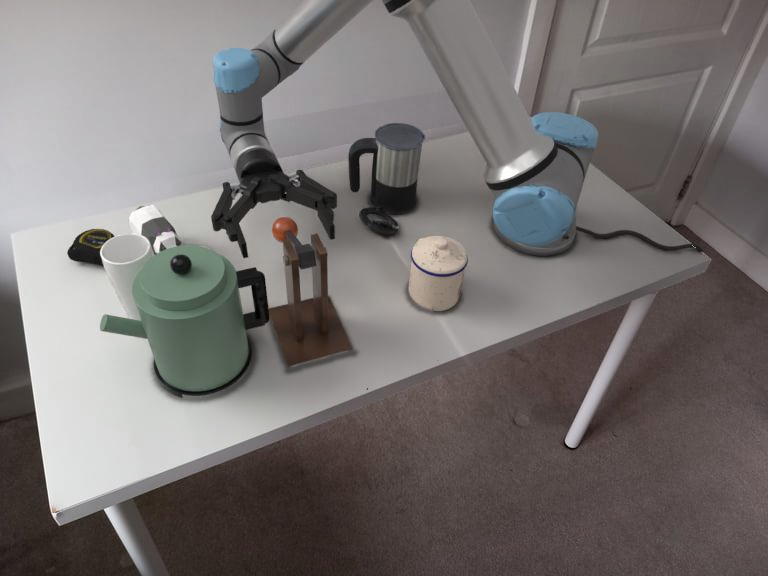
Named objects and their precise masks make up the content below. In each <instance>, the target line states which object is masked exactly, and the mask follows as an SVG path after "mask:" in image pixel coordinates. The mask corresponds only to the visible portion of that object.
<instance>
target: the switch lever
mask: <svg viewBox="0 0 768 576" xmlns="http://www.w3.org/2000/svg"><path fill="white" fill-rule="evenodd" d="M298 233H299V227H298V223H297V222H296V221H295V220H294V219H293V218H291V217H288V216H282V217H278V218H277V219H276V220H274V222H273V223H272V226H271V234H272V236H273V238H274V239H275V240H276V241H277V242H279V243H282V244H283V240H287V239H290V241H291V244H292V246H293V248H294V250H295V253H296V255H297V257H298V260H299V269H300V270H305V269H309V268H312V267H315V266H317V265H316V258H315V250H314V249H313V248H312V247H311V243H305V244H302V242H301V240H300V239H298Z"/></svg>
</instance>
